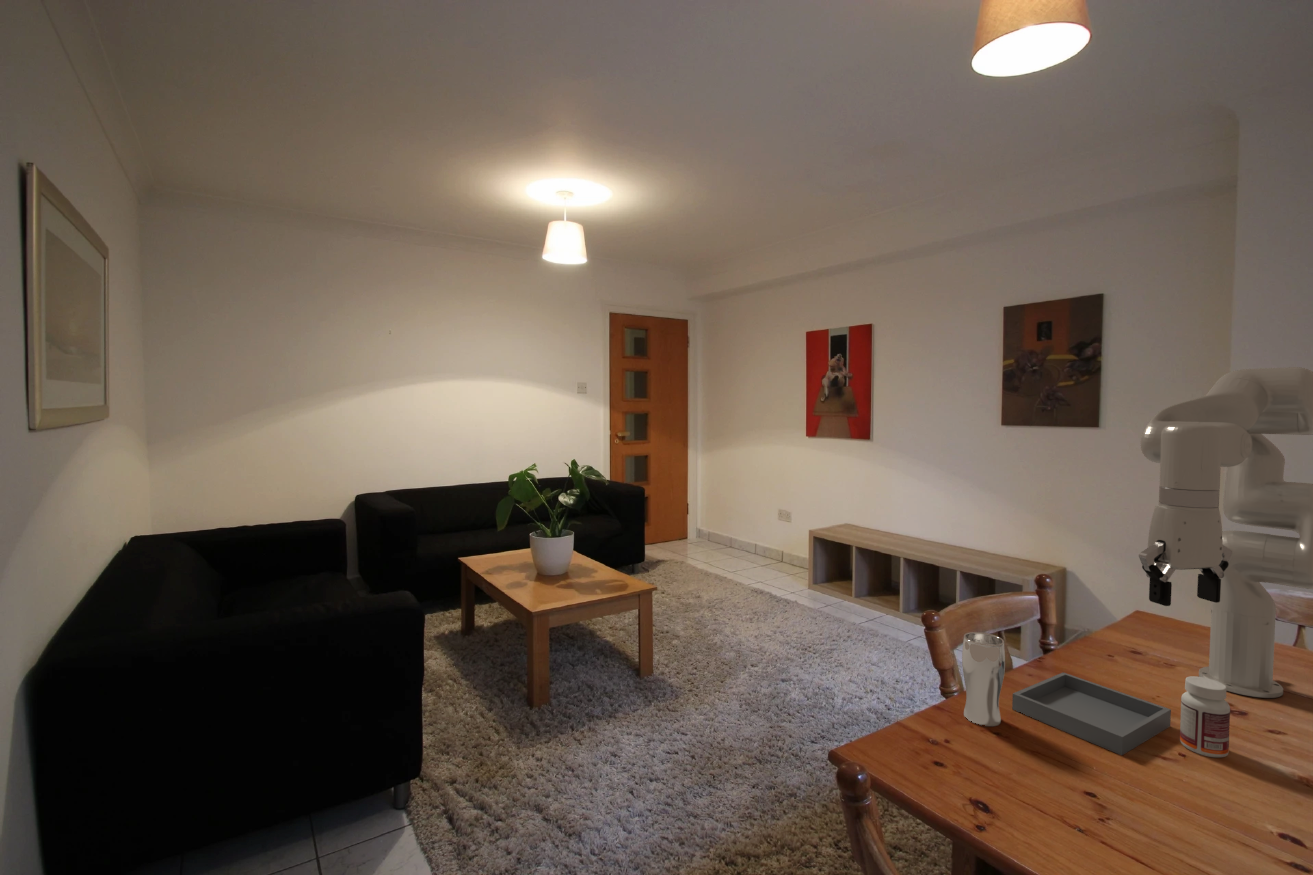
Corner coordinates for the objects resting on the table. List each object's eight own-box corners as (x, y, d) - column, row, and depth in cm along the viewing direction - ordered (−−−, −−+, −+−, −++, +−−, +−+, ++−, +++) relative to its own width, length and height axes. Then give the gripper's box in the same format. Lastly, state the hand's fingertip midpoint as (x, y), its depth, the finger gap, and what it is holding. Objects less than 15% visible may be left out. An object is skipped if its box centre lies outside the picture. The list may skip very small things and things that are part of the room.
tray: (1062, 687, 126) (1063, 672, 126) (1170, 726, 111) (1170, 709, 111) (1012, 709, 117) (1012, 693, 117) (1121, 755, 102) (1122, 736, 102)
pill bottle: (1233, 751, 103) (1236, 684, 102) (1221, 763, 99) (1224, 694, 99) (1186, 735, 108) (1189, 671, 107) (1173, 745, 105) (1176, 680, 104)
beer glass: (1001, 713, 116) (1003, 634, 115) (1005, 731, 110) (1007, 648, 109) (960, 706, 119) (962, 629, 118) (961, 722, 112) (963, 642, 112)
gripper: (1207, 494, 107) (1203, 592, 108) (1122, 497, 104) (1119, 598, 105) (1256, 500, 100) (1251, 605, 100) (1167, 504, 96) (1163, 612, 97)
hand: (1184, 601), depth 102 cm, fingers open, 9 cm apart
